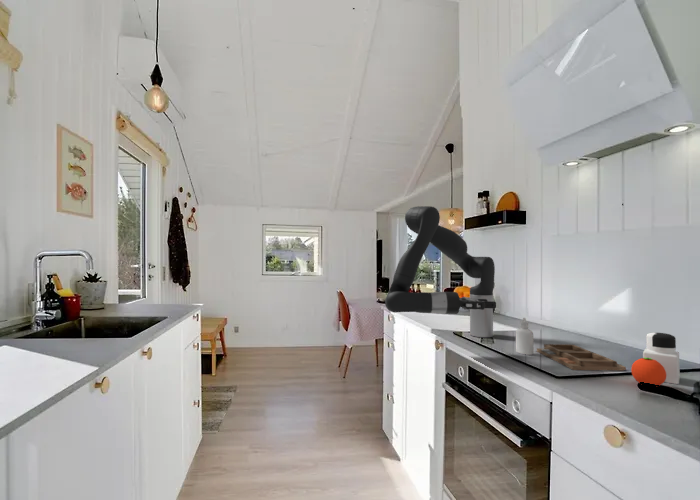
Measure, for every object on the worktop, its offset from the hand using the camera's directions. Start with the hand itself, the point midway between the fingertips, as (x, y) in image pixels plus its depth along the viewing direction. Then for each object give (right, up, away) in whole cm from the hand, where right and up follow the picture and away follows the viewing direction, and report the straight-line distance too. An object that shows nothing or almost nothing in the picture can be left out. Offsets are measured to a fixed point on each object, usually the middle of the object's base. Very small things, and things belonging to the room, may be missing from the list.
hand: (491, 303), depth 127 cm
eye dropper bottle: (+11, -17, -1) cm, 20 cm away
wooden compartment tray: (+24, -17, -9) cm, 30 cm away
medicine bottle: (+35, -16, -28) cm, 48 cm away
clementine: (+27, -16, -33) cm, 46 cm away
